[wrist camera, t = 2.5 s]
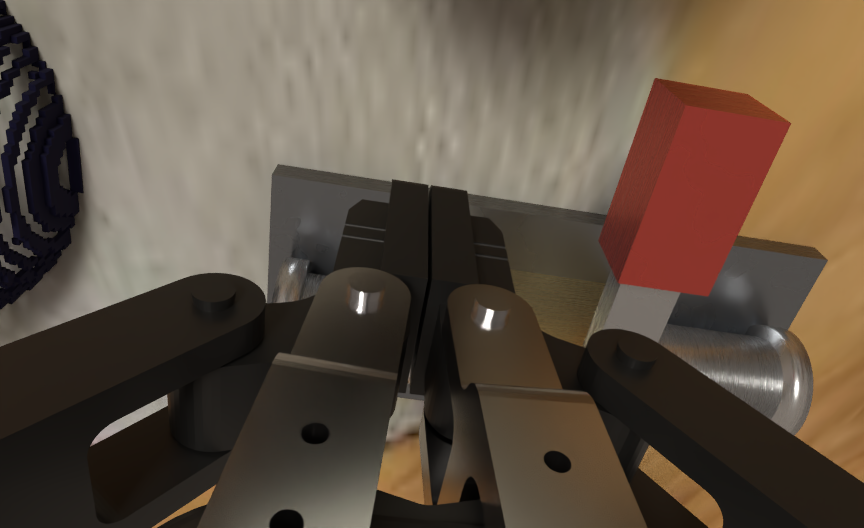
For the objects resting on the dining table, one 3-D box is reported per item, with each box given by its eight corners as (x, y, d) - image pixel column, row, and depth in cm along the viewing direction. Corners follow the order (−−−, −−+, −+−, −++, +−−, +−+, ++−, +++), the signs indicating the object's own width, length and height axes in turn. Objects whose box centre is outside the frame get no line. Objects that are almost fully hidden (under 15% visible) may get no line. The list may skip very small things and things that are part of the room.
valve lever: (644, 75, 17) (673, 103, 14) (757, 96, 17) (802, 125, 15) (506, 480, 25) (513, 534, 23) (584, 489, 25) (598, 543, 23)
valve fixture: (277, 164, 28) (213, 279, 20) (814, 247, 30) (956, 383, 22) (269, 365, 34) (216, 517, 26) (716, 423, 37) (799, 580, 28)
